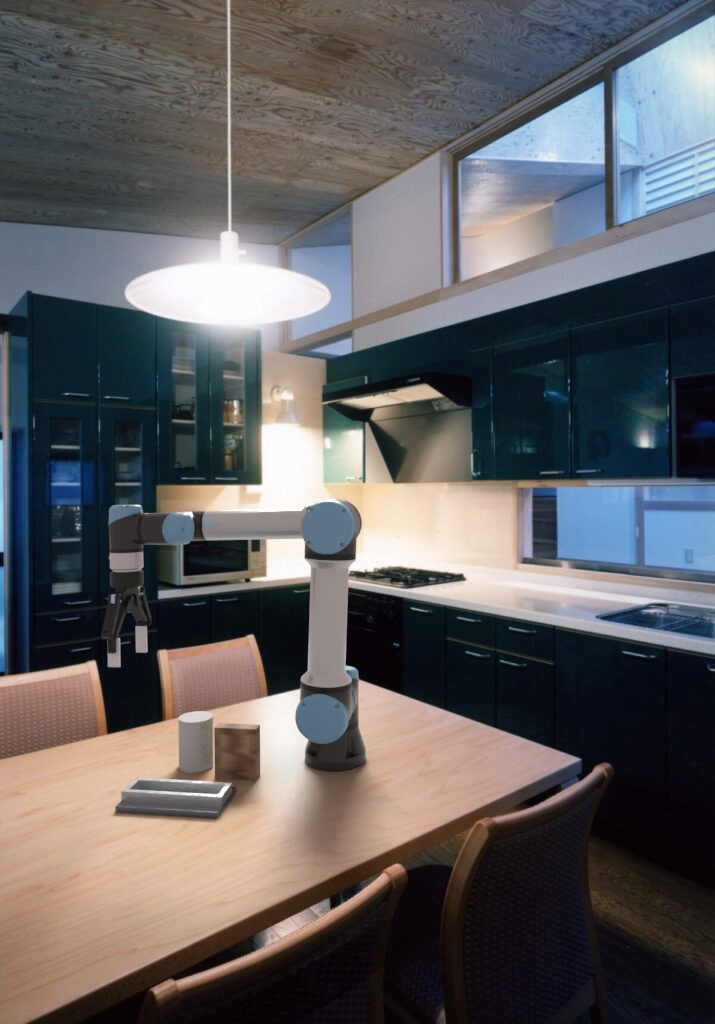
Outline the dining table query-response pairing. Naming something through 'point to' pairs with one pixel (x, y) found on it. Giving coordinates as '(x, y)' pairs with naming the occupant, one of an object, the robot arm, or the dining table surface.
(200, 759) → the yellow-veined white cylinder
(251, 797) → the dining table surface
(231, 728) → the door panel
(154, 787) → the track
